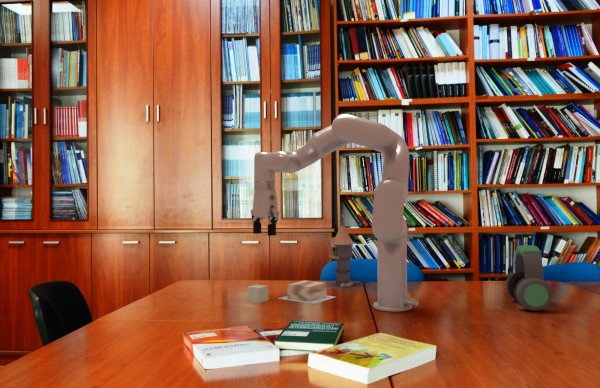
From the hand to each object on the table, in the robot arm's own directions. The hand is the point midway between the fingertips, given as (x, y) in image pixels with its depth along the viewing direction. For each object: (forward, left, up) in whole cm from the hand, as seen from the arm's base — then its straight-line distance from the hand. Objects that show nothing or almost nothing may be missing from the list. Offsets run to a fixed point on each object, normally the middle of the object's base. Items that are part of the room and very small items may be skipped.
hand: (264, 234), depth 180 cm
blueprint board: (-12, -9, -24) cm, 28 cm away
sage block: (-1, +5, -24) cm, 24 cm away
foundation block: (-12, -9, -23) cm, 27 cm away
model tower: (-7, -41, -24) cm, 48 cm away
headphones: (-79, -41, -24) cm, 92 cm away
